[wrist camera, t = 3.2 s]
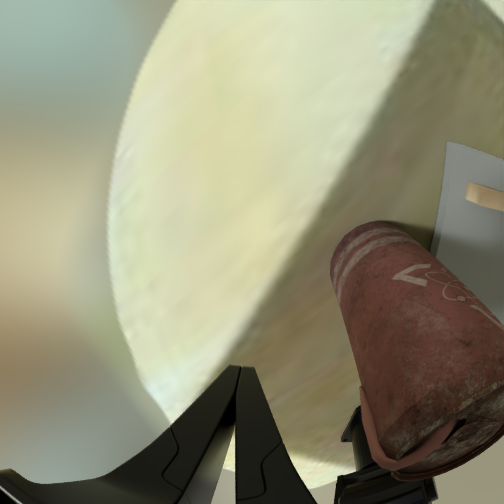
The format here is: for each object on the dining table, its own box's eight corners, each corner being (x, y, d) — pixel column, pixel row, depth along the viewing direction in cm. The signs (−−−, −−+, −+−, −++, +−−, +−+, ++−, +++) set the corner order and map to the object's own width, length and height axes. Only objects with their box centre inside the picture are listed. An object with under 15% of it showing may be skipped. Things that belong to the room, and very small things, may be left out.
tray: (499, 351, 20) (512, 368, 17) (392, 362, 21) (401, 387, 18) (552, 184, 13) (573, 191, 10) (446, 141, 14) (471, 143, 12)
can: (314, 236, 18) (367, 440, 5) (404, 208, 16) (565, 335, 3) (335, 313, 20) (373, 502, 7) (415, 286, 18) (512, 440, 5)
